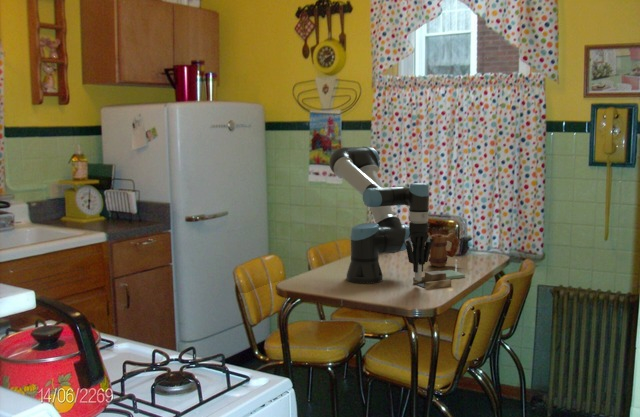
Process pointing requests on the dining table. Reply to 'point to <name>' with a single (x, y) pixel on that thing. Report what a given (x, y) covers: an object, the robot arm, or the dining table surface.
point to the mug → (442, 249)
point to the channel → (432, 283)
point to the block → (434, 276)
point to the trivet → (453, 274)
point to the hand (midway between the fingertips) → (418, 280)
